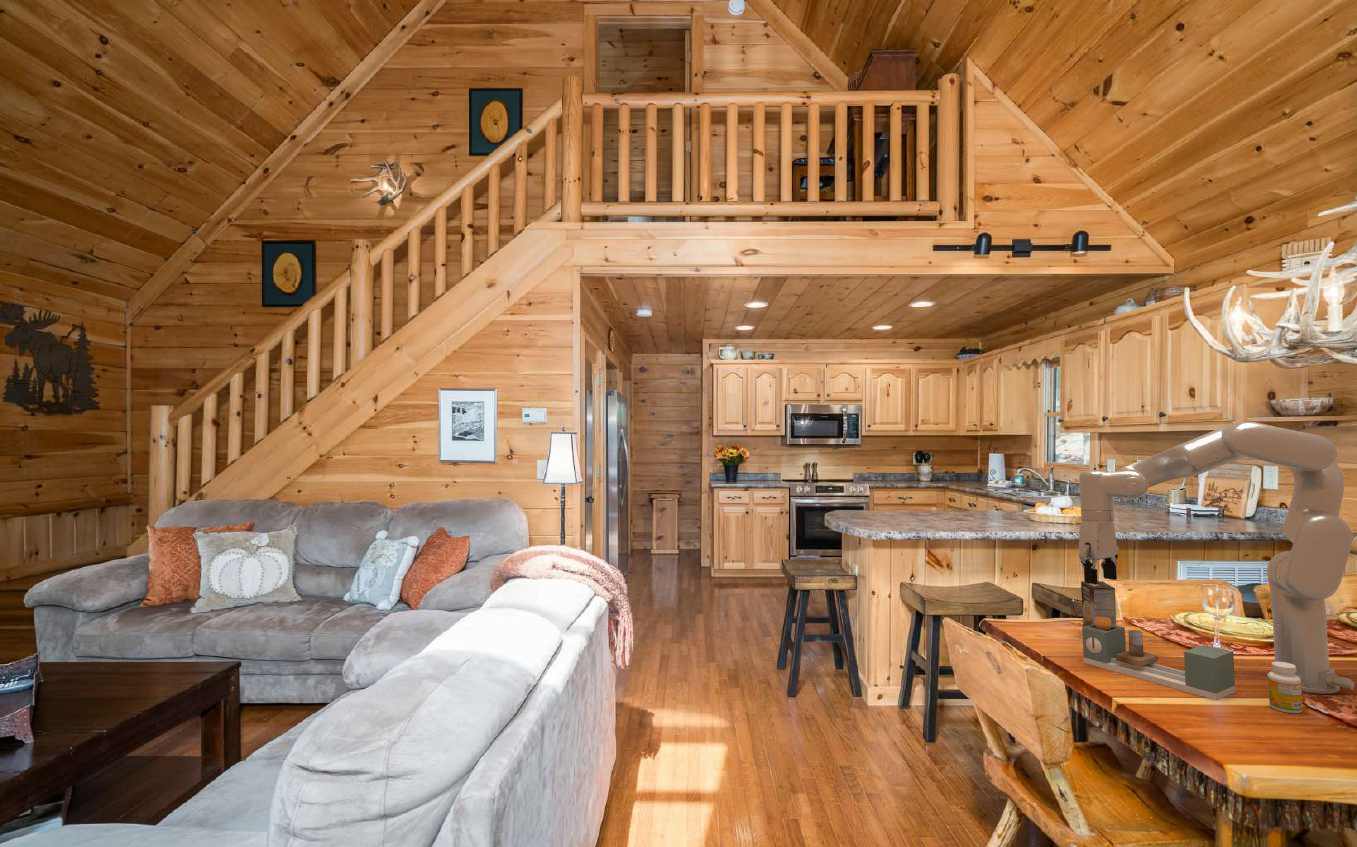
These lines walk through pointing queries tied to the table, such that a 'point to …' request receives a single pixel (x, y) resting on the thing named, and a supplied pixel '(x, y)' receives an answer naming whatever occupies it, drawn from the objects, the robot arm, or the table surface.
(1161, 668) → the rail track
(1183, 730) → the table surface
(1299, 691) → the supplement bottle
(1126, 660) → the carriage
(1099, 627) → the button
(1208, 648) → the near cabinet
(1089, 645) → the far cabinet
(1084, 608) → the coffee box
